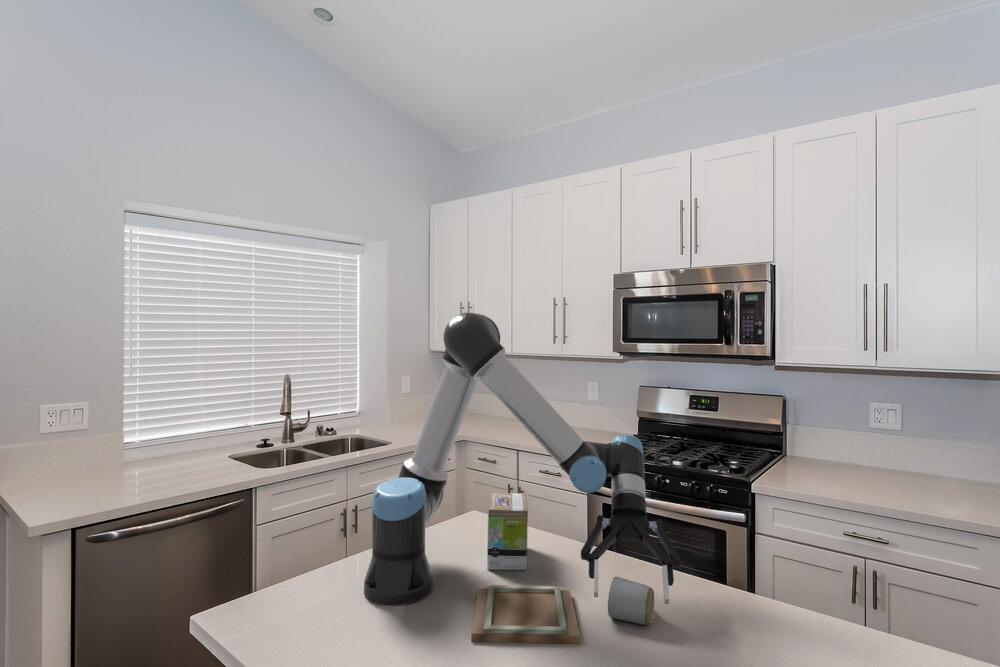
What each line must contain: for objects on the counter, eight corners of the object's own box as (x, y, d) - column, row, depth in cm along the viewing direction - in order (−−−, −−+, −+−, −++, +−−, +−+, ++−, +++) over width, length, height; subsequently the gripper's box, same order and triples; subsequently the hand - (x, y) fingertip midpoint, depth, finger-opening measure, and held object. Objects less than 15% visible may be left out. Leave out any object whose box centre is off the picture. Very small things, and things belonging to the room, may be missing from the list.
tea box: (528, 571, 130) (528, 509, 130) (486, 570, 131) (486, 509, 131) (526, 546, 145) (526, 491, 146) (488, 546, 146) (488, 491, 146)
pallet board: (471, 641, 100) (471, 629, 100) (478, 594, 118) (478, 584, 118) (579, 643, 100) (579, 631, 100) (570, 596, 118) (570, 586, 118)
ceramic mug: (649, 633, 103) (649, 593, 103) (606, 624, 107) (607, 584, 107) (657, 609, 113) (657, 572, 113) (618, 600, 116) (618, 565, 116)
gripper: (685, 511, 121) (695, 611, 107) (573, 504, 126) (568, 598, 112) (688, 494, 116) (699, 597, 101) (571, 487, 121) (566, 584, 106)
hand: (630, 598), depth 107 cm, fingers open, 13 cm apart
